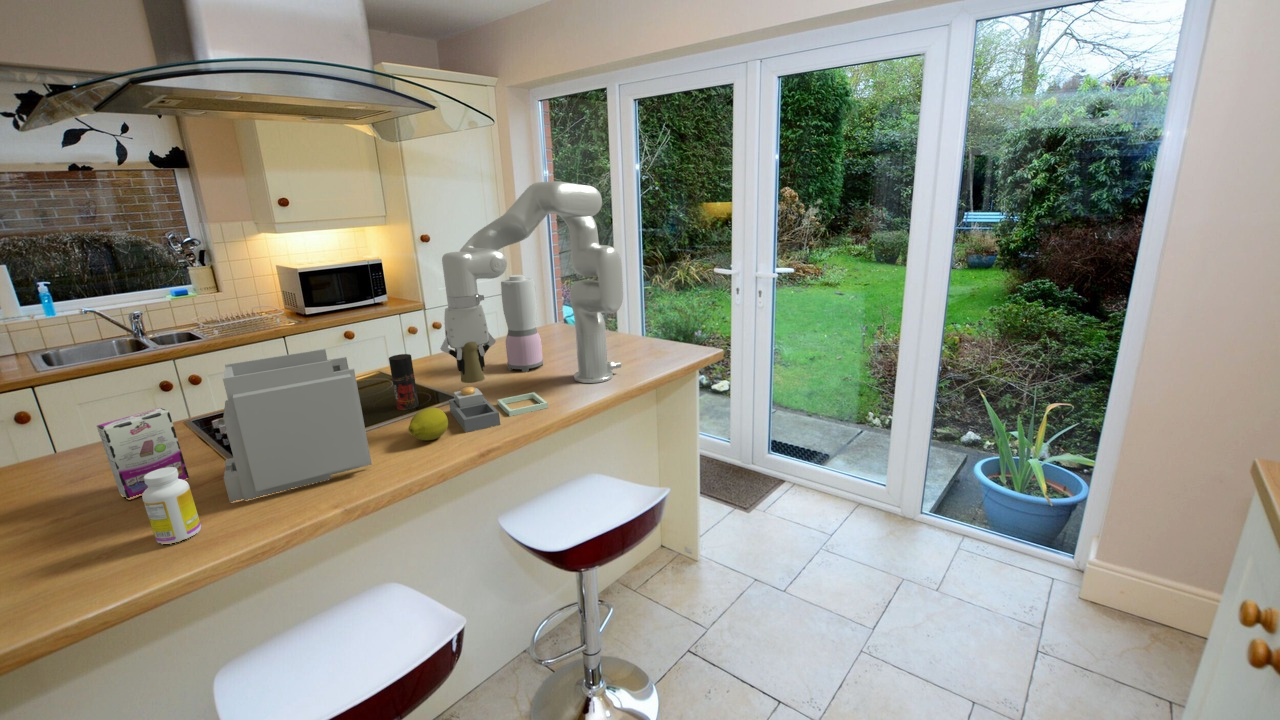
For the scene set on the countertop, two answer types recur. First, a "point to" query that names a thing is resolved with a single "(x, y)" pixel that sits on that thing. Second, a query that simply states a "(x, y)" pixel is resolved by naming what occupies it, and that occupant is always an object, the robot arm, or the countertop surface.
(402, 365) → the deodorant
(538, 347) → the blender
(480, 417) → the grey hollow box
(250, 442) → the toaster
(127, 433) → the candy bar box
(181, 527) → the supplement bottle
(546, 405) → the pale green square frame
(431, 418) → the lemon
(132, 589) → the countertop surface
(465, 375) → the cork
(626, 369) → the countertop surface
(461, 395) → the twin plug
